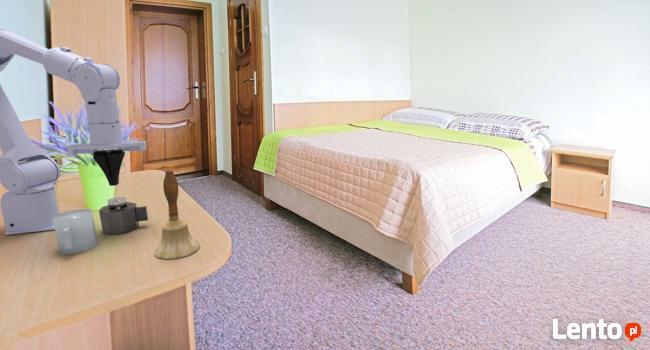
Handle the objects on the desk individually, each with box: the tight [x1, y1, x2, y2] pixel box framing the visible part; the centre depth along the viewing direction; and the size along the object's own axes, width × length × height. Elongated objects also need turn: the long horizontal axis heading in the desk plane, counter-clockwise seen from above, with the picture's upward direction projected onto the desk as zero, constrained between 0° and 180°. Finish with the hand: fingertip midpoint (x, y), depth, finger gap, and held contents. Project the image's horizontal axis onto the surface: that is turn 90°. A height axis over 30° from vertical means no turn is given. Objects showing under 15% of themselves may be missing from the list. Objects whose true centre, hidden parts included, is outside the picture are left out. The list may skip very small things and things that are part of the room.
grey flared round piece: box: [107, 196, 128, 209], centre depth 78 cm, size 4×4×6 cm
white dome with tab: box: [53, 208, 99, 256], centre depth 68 cm, size 6×8×7 cm
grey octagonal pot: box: [98, 201, 149, 236], centre depth 79 cm, size 9×7×5 cm
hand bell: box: [154, 169, 201, 260], centre depth 67 cm, size 8×8×16 cm
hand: (114, 184), depth 77 cm, fingers closed
